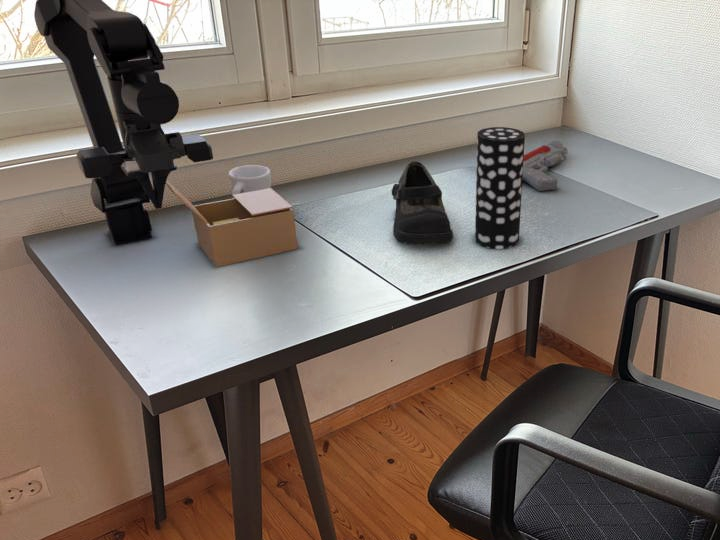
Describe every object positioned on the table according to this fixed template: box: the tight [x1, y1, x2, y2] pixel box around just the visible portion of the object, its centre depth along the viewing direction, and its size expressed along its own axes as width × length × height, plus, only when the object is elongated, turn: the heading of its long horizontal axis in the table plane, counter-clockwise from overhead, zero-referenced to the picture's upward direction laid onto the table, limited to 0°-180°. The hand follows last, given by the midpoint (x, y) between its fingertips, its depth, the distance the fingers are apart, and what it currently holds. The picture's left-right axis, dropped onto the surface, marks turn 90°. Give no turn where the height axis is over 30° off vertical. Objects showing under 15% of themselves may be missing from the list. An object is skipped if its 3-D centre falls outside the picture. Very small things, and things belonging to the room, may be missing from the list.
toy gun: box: [522, 140, 569, 192], centre depth 171 cm, size 4×27×15 cm
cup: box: [227, 164, 272, 199], centre depth 145 cm, size 11×8×8 cm
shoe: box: [391, 161, 454, 245], centre depth 140 cm, size 11×24×10 cm, turn 11°
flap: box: [165, 179, 208, 224], centre depth 123 cm, size 7×11×1 cm
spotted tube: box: [474, 126, 526, 250], centre depth 133 cm, size 8×8×20 cm
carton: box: [191, 187, 299, 268], centre depth 131 cm, size 15×11×8 cm
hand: (158, 207), depth 118 cm, fingers closed
